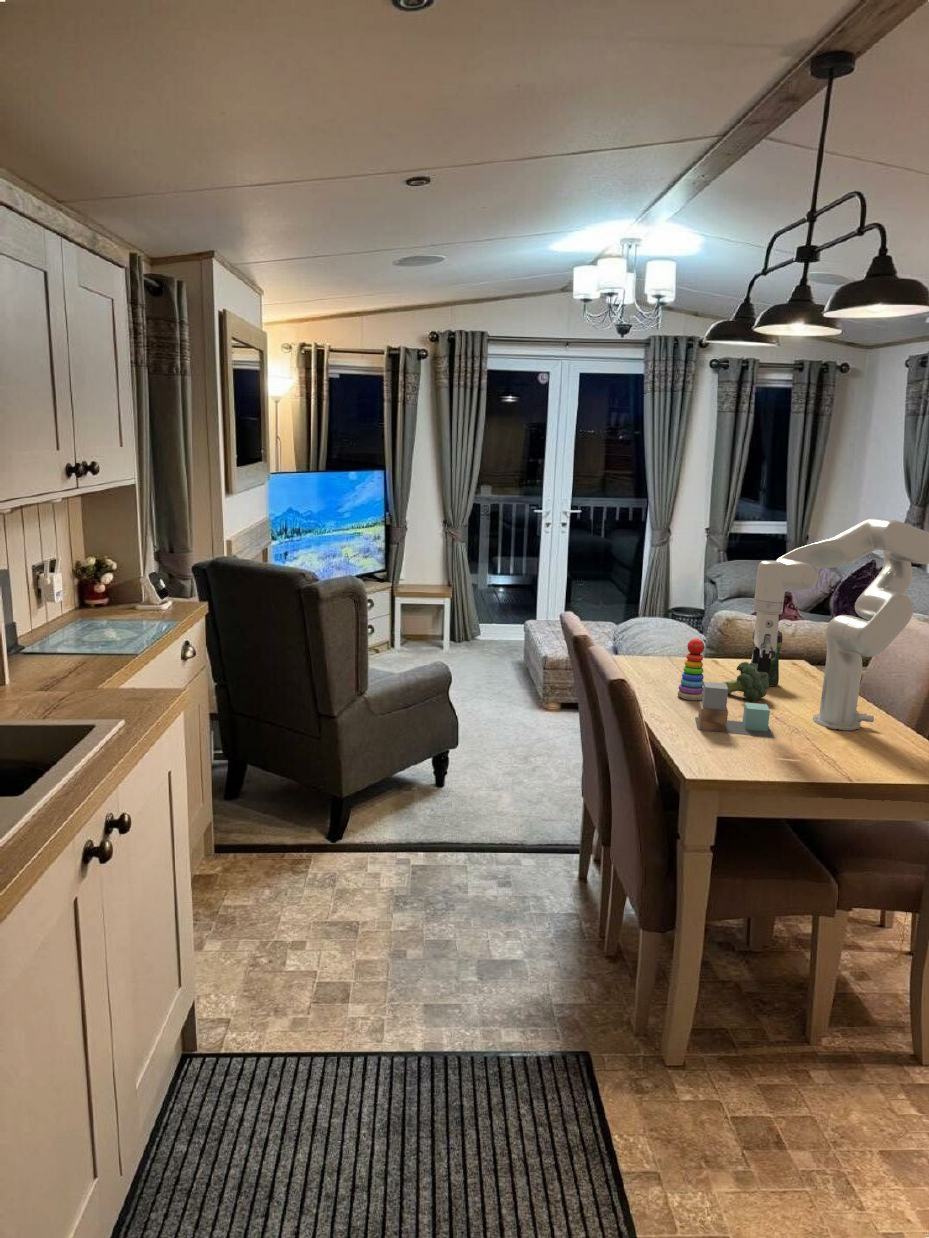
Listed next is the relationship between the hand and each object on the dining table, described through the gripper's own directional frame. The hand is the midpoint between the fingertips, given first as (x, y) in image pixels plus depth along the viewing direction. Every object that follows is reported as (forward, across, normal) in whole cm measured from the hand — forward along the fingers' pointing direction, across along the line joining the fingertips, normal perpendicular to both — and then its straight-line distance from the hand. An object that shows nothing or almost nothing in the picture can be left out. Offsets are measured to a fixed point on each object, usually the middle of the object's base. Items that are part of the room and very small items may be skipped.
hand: (760, 667), depth 236 cm
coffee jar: (+17, +52, -9) cm, 56 cm away
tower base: (+17, -4, +12) cm, 21 cm away
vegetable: (+18, +32, -1) cm, 37 cm away
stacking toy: (+18, +26, +16) cm, 35 cm away
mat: (+18, -2, +6) cm, 19 cm away
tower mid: (+11, -4, +12) cm, 17 cm away
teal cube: (+17, 0, 0) cm, 17 cm away
